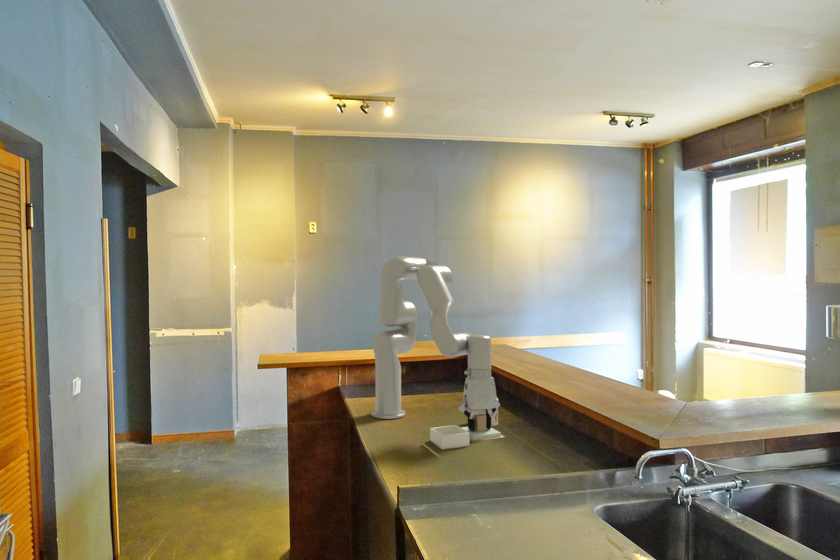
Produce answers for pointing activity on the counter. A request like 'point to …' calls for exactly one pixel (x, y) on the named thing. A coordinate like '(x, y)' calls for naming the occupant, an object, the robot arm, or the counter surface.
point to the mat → (486, 438)
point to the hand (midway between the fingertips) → (479, 428)
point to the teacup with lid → (494, 418)
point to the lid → (481, 429)
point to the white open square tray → (449, 437)
